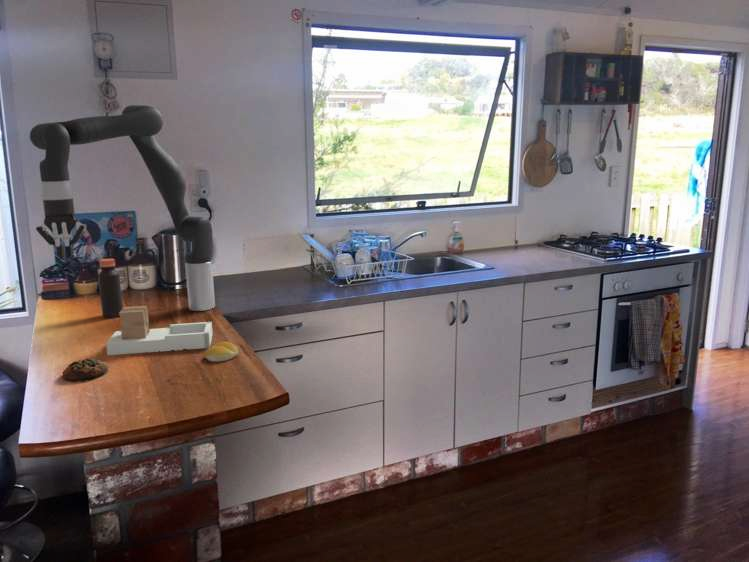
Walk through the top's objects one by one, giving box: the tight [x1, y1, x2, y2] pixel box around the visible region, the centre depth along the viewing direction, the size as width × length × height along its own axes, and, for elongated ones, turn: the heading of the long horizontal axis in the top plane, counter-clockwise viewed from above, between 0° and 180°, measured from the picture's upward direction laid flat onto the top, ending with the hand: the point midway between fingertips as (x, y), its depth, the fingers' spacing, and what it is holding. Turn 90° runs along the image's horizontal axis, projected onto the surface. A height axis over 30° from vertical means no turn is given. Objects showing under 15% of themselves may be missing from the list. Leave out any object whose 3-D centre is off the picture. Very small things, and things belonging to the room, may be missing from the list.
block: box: [119, 305, 150, 340], centre depth 181 cm, size 6×6×8 cm
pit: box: [165, 321, 214, 352], centre depth 184 cm, size 12×12×4 cm
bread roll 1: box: [61, 358, 110, 382], centre depth 161 cm, size 11×11×5 cm
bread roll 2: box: [204, 341, 239, 363], centre depth 172 cm, size 8×9×4 cm
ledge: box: [105, 327, 171, 356], centre depth 182 cm, size 12×16×4 cm
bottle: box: [97, 258, 124, 319], centre depth 214 cm, size 7×7×20 cm
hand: (65, 258), depth 175 cm, fingers closed
